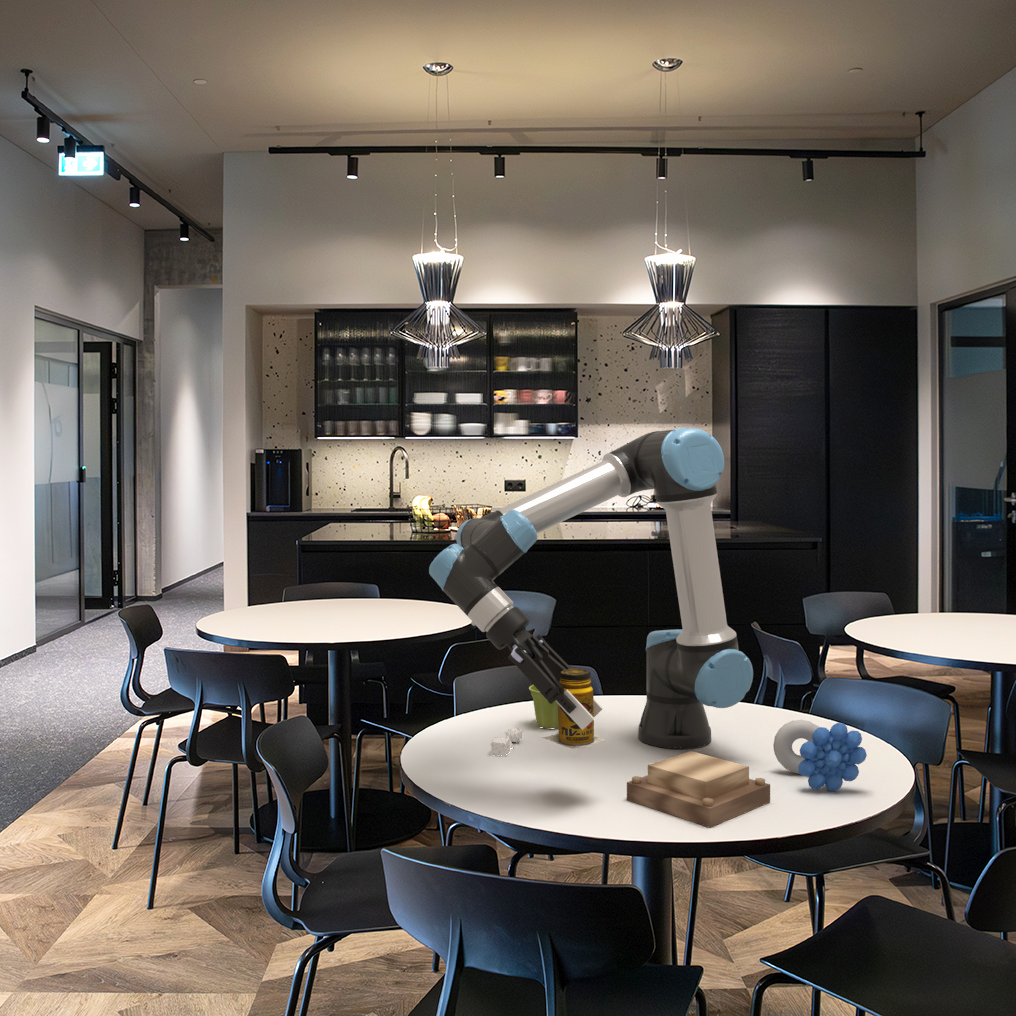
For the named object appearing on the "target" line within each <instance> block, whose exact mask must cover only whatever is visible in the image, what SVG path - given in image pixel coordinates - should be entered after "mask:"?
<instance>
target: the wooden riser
mask: <svg viewBox="0 0 1016 1016" xmlns="http://www.w3.org/2000/svg"><path fill="white" fill-rule="evenodd" d="M626 800H627V801H629V802H633V803H636V804H638V805H641V806H644V807H647V808H650V809H653V810H656V811H660V812H662V813H665V814H668V815H671V816H675V817H676V818H680V819H684V820H685V821H686V820H687V821H688V822H692V823H695V824H698V825H700V826H704V827H707V828H713V827H714V826H718V825H719V824H722V823H724V822H727V821H729V820H731V819H733V818H736V817H739V816H740V815H743V814H745V813H748V812H749V811H753V810H755V809H758V808H759V807H762V806H764V805H766V804H769V803H771V784H770V783H766V779H765V778H763V777H756V778H755V779H753V778H750V766H748V765H746V764H745V765H744V764H742V763H737V762H734V761H731V760H726V759H722V758H720V757H719V758H718V757H715V756H711V755H707V754H703V753H701V752H696V751H693V750H690V751H687V752H683V753H681V754H677V755H675V756H672V757H669V758H665V759H661V760H659V761H656V762H652V763H650V764H647V775H644V776H642V777H641V776H639V775H637V776H632V777H631V780H630V781H627V782H626Z"/></svg>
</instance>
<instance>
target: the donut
mask: <svg viewBox="0 0 1016 1016" xmlns="http://www.w3.org/2000/svg"><path fill="white" fill-rule="evenodd" d="M819 727H820V726H819V725H817V724H815V723H813V722H812V721H809V720H803V719H795V720H790V721H789V722H787V723H784V724H783V725H782V726H781V727H780V728H779V729H778V730H777V732H776V734H775V736H774V740H773V745H772V746H773V751H774V756H775V758H776V759H777V762H778V763H779V764H780V765H781V766H782V767H783V768H784V769H786V770H788V771H790V772H791V773H794V774H799V771H798V766H799V764H800V762H801V761H803V760H805V759H804V758H803V757H801V755H800V754H799V755H798V754H797V753H796V752H795V751H794V750H793V744H794V742H795V741H796V740H799V739H804V740H806V742H807V741H809V742H813V739H812V735H813V732H814V731H815V730H816V729H817V728H819ZM799 775H800V774H799Z"/></svg>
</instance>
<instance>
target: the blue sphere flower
mask: <svg viewBox="0 0 1016 1016" xmlns="http://www.w3.org/2000/svg"><path fill="white" fill-rule="evenodd" d="M830 727H831V728H830V729H828V728H827V727H825V726H823V727H822V726H819V728H817V729H816V730H815V731H814V732H813V735H812V739H813V742H809V741H807V740H806V741H805V742H804V743H803V744H801V746H800V748H799V755H800V756H801V757H803V758H804V759H805V760H803V761H801V762H800V764H799V766H798V771H799V775H800V776H802V777H805V778H806V777H807V778H808V779H807V783H808V786H809V787H810V788H811V789H813V790H819V789H822V788H823V787H824V786H825V788H826V789H827V790H828V791H829V792H830V791H831V792H836V791H838V790H840V789H841V788H842V786H843V784H844V781H845V782H853V781H855V780H856V779H857V777H858V776H859V773H860V771H859V770H860V769H859V767H858V766H859V765H860V764H862V763H864V762H865V760H866V758H867V755H868V754H867V751H866V749H865V748H864V747H863V746H860V745H861V743H862V741H863V737H862V734H861V732H859V730H850V731H849V730H848V726H847V725H846V724H845V723H843V722H837V723H834V724H833V725H832V726H830ZM857 765H858V766H857Z"/></svg>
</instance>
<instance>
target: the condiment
mask: <svg viewBox="0 0 1016 1016" xmlns="http://www.w3.org/2000/svg"><path fill="white" fill-rule="evenodd" d="M591 677H592V676H591V672H590V671H589V670H587V669H582V668H572V669H567V670H563V671H561V672H560V681H559V682H560V685H561V686H562V687H563V688H564V690H565V691H566V690H567V689H568V691H569V692H570V693H571V694H572V695H573V696H574V697H575V698H576V699H577V700H578V701H579V702H580V703H581V704H582V705H583V707H584V708H585V709H586V710H587V711H588V712H589V713H590V714H591V715H592V716H593V717H594V706H593V698H594V688H593V687H592V685H591V683H592V680H591ZM565 691H564V692H565ZM564 692H563V693H564ZM594 699H595V698H594ZM594 718H595V717H594ZM558 728H559V729H558V732H557V734H551V735H547V736H543V737H541V739H545V740H549V742H553V743H555V744H558V745H561V746H563V747H565V748H566V747H567V748H569V749H578V748H583V747H587V746H591V745H594V744H597V743H600V742H604V741H605V739H603V738H599V737H597V736H595V719H594V720H593V721H592V722H591V723H590V724H589V725H587V726H586V727H585V728H584V729H583V730H582V729H581V728H580V727H579V726H578V725H577V724H576V723H575V722H574V721H573V720H572V718H571V717H570V716H569V715H568V714H567V713H566V712H565V711H564V710H563V709H562V708H561V707H560V706H559V704H558Z"/></svg>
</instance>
